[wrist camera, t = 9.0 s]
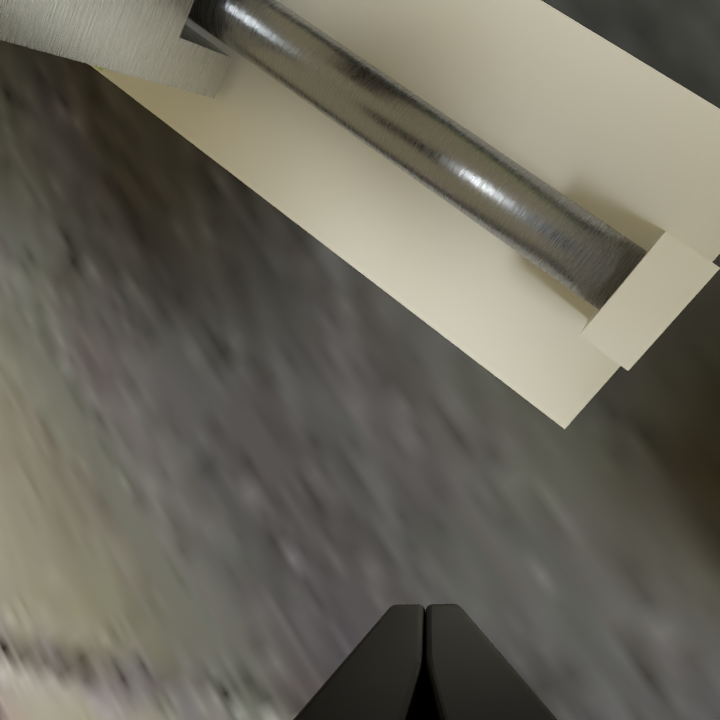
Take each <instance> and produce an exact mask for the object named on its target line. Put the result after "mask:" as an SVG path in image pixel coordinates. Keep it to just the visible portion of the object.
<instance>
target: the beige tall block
mask: <svg viewBox="0 0 720 720" xmlns="http://www.w3.org/2000/svg"><path fill="white" fill-rule="evenodd" d="M193 3H194V0H0V40H3V41H6V42H10V43H14V44H17V45H21V46H25V47H28V48H32V49H35V50H39V51H43V52H46V53H50V54H54V55H57V56H61V57H64V58H68V59H72V60H75V61H79V62H83V63H86V64H90V65H94V66H97V67H101V68H104V69H108V70H112V71H115V72H119V73H123V74H126V75H130V76H133V77H137V78H141V79H144V80H148V81H152V82H155V83H159V84H163V85H166V86H170V87H173V88H177V89H181V90H184V91H188V92H192V93H195V94H199V95H202V96H206V97H210V98H213V99H214V98H215V96H216V94H217V91H218V89H219V87H220V85H221V82H222V80H223V78H224V76H225V73H226V71H227V69H228V67H229V65H230V62H231V60H232V57H230V56H229V55H227V54H226V53H225V52H223V51H222V50H220V49H219V48H218V47H216V46H215V45H213V44H212V43H211V42H209V41H208V40H206V39H205V38H204V37H202V36H201V35H199V34H198V33H197V32H195V31H194V30H192V29H191V28H190V27H188V26H187V25H186V24H185V22H186V20H187V18H188V15H189V13H190V10H191V8H192V5H193Z"/></svg>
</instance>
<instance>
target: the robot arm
mask: <svg viewBox="0 0 720 720" xmlns="http://www.w3.org/2000/svg"><path fill="white" fill-rule="evenodd" d="M293 720H557V719H556V718H555V716H554V715H553V714H552V713H551V712H550V711H549V709H548V708H547V707H546V706H545V705H544V704H543V702H542V701H541V700H540V699H539V698H538V697H537V695H536V694H535V693H534V692H533V691H532V690H531V688H530V687H529V686H528V685H527V684H526V683H525V681H524V680H523V679H522V678H521V677H520V676H519V674H518V673H517V672H516V671H515V670H514V669H513V667H512V666H511V665H510V664H509V663H508V662H507V660H506V659H505V658H504V657H503V656H502V655H501V653H500V652H499V651H498V650H497V649H496V648H495V646H494V645H493V644H492V643H491V642H490V641H489V639H488V638H487V637H486V636H485V635H484V634H483V632H482V631H481V630H480V629H479V628H478V627H477V625H476V624H475V623H474V622H473V621H472V620H471V618H470V617H469V616H468V615H467V614H466V613H465V611H464V610H463V609H462V608H461V607H460V606H459V605H457V604H431V605H429V606H427V608H426V614H425V609H424V607H423V606H421V605H393V606H392V607H390V608H389V609H388V610H387V612H386V613H385V614H384V615H383V616H382V617H381V619H380V620H379V621H378V622H377V623H376V624H375V625H374V627H373V628H372V629H371V630H370V631H369V632H368V634H367V635H366V636H365V637H364V638H363V639H362V641H361V642H360V643H359V644H358V645H357V646H356V648H355V649H354V650H353V651H352V652H351V653H350V654H349V656H348V657H347V658H346V659H345V660H344V661H343V663H342V664H341V665H340V666H339V667H338V668H337V670H336V671H335V672H334V673H333V674H332V675H331V676H330V678H329V679H328V680H327V681H326V682H325V683H324V685H323V686H322V687H321V688H320V689H319V690H318V692H317V693H316V694H315V695H314V696H313V697H312V698H311V700H310V701H309V702H308V703H307V704H306V705H305V707H304V708H303V709H302V710H301V711H300V712H299V714H298V715H297V716H296V717H295V718H294V719H293Z"/></svg>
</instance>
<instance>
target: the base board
mask: <svg viewBox="0 0 720 720" xmlns="http://www.w3.org/2000/svg"><path fill="white" fill-rule="evenodd" d="M277 1H278V2H280V3H281V4H283V5H284V6H286V7H287V8H289V9H290V10H292V11H293V12H295V13H296V14H298V15H299V16H300V17H302V18H303V19H305V20H306V21H308V22H309V23H311V24H312V25H314V26H315V27H317V28H318V29H320V30H321V31H323V32H324V33H326V34H327V35H329V36H330V37H331V38H333V39H334V40H336V41H337V42H339V43H340V44H342V45H343V46H345V47H346V48H348V49H349V50H351V51H352V52H354V53H355V54H357V55H358V56H360V57H361V58H362V59H364V60H365V61H367V62H368V63H370V64H371V65H373V66H374V67H376V68H377V69H379V70H380V71H382V72H383V73H385V74H386V75H388V76H389V77H391V78H392V79H394V80H395V81H396V82H398V83H399V84H401V85H402V86H404V87H405V88H407V89H408V90H410V91H411V92H413V93H414V94H416V95H417V96H419V97H420V98H422V99H423V100H425V101H426V102H427V103H429V104H430V105H432V106H433V107H435V108H436V109H438V110H439V111H441V112H442V113H444V114H445V115H447V116H448V117H450V118H451V119H453V120H454V121H456V122H457V123H458V124H460V125H461V126H463V127H464V128H466V129H467V130H469V131H470V132H472V133H473V134H475V135H476V136H478V137H479V138H481V139H482V140H484V141H485V142H487V143H488V144H489V145H491V146H492V147H494V148H495V149H497V150H498V151H500V152H501V153H503V154H504V155H506V156H507V157H509V158H510V159H512V160H513V161H515V162H516V163H518V164H519V165H520V166H522V167H523V168H525V169H526V170H528V171H529V172H531V173H532V174H534V175H535V176H537V177H538V178H540V179H541V180H543V181H544V182H546V183H547V184H549V185H550V186H551V187H553V188H554V189H556V190H557V191H559V192H560V193H562V194H563V195H565V196H566V197H568V198H569V199H571V200H572V201H574V202H575V203H577V204H578V205H580V206H581V207H582V208H584V209H585V210H587V211H588V212H590V213H591V214H593V215H594V216H596V217H597V218H599V219H600V220H602V221H603V222H605V223H606V224H608V225H609V226H611V227H612V228H613V229H615V230H616V231H618V232H619V233H621V234H622V235H624V236H625V237H627V238H628V239H630V240H631V241H633V242H634V243H636V244H637V245H639V246H640V247H642V248H643V249H645V250H646V251H647V252H646V254H645V255H644V256H643V258H642V259H641V260H640V262H639V263H638V264H637V265H636V267H635V268H634V269H633V271H632V272H631V273H630V274H629V275H628V277H627V278H626V279H625V280H624V282H623V283H622V284H621V285H620V286H619V288H618V289H617V290H616V291H615V292H614V294H613V295H612V296H611V297H610V298H609V299H608V301H607V302H606V303H605V304H604V305H603V306H602V307H601V308H600V309H599V310H598V309H597V308H595V307H594V306H592V305H591V304H590V303H588V302H587V301H585V300H584V299H583V298H581V297H580V296H578V295H577V294H576V293H574V292H573V291H571V290H570V289H569V288H567V287H566V286H564V285H563V284H562V283H560V282H559V281H557V280H556V279H555V278H553V277H552V276H550V275H549V274H547V273H546V272H545V271H543V270H542V269H540V268H539V267H538V266H536V265H535V264H533V263H532V262H531V261H529V260H528V259H526V258H525V257H524V256H522V255H521V254H519V253H518V252H517V251H515V250H514V249H512V248H511V247H510V246H508V245H507V244H505V243H504V242H503V241H501V240H500V239H498V238H497V237H496V236H494V235H493V234H491V233H490V232H488V231H487V230H486V229H484V228H483V227H481V226H480V225H479V224H477V223H476V222H474V221H473V220H472V219H470V218H469V217H467V216H466V215H465V214H463V213H462V212H460V211H459V210H458V209H456V208H455V207H453V206H452V205H451V204H449V203H448V202H446V201H445V200H444V199H442V198H441V197H439V196H438V195H437V194H435V193H434V192H432V191H431V190H429V189H428V188H427V187H425V186H424V185H422V184H421V183H420V182H418V181H417V180H415V179H414V178H413V177H411V176H410V175H408V174H407V173H406V172H404V171H403V170H401V169H400V168H399V167H397V166H396V165H394V164H393V163H392V162H390V161H389V160H387V159H386V158H385V157H383V156H382V155H380V154H379V153H378V152H376V151H375V150H373V149H372V148H370V147H369V146H368V145H366V144H365V143H363V142H362V141H361V140H359V139H358V138H356V137H355V136H354V135H352V134H351V133H349V132H348V131H347V130H345V129H344V128H342V127H341V126H340V125H338V124H337V123H335V122H334V121H333V120H331V119H330V118H328V117H327V116H326V115H324V114H323V113H321V112H320V111H319V110H317V109H316V108H314V107H313V106H312V105H310V104H309V103H307V102H306V101H304V100H303V99H302V98H300V97H299V96H297V95H296V94H295V93H293V92H292V91H290V90H289V89H288V88H286V87H285V86H283V85H282V84H281V83H279V82H278V81H276V80H275V79H274V78H272V77H271V76H269V75H268V74H267V73H265V72H264V71H262V70H261V69H260V68H258V67H257V66H255V65H254V64H253V63H251V62H250V61H248V60H247V59H245V58H244V57H243V56H241V55H240V54H238V53H237V52H236V51H234V50H233V49H231V48H230V47H229V46H227V45H226V44H224V43H223V42H222V41H220V40H219V39H217V38H216V37H215V36H213V35H212V34H210V33H209V32H208V31H206V30H205V29H203V28H202V27H201V26H199V25H198V24H196V23H195V22H194V21H192V20H191V19H189V18H187V20H186V22H185V24H186V25H187V26H188V27H190V28H191V29H192V30H194V31H195V32H197V33H198V34H199V35H201V36H202V37H204V38H205V39H206V40H208V41H209V42H211V43H212V44H213V45H215V46H216V47H218V48H219V49H220V50H222V51H223V52H225V53H226V54H227V55H229V56H230V57H232V60H231V62H230V65H229V67H228V69H227V71H226V73H225V76H224V78H223V80H222V82H221V85H220V87H219V89H218V91H217V94H216V96H215V98H214V99H213V98H210V97H206V96H202V95H199V94H195V93H192V92H188V91H184V90H181V89H177V88H173V87H170V86H166V85H163V84H159V83H155V82H152V81H148V80H144V79H141V78H137V77H133V76H130V75H126V74H123V73H119V72H115V71H112V70H108V69H104V68H101V67H97V66H94V65H91V66H92V67H93V68H94V69H96V70H97V71H98V72H100V73H101V74H102V75H104V76H105V77H106V78H107V79H109V80H110V81H111V82H113V83H114V84H115V85H117V86H118V87H119V88H121V89H122V90H123V91H124V92H126V93H127V94H128V95H130V96H131V97H132V98H134V99H135V100H136V101H137V102H139V103H140V104H141V105H143V106H144V107H145V108H147V109H148V110H149V111H151V112H152V113H153V114H154V115H156V116H157V117H158V118H160V119H161V120H162V121H164V122H165V123H166V124H167V125H169V126H170V127H171V128H173V129H174V130H175V131H177V132H178V133H179V134H181V135H182V136H183V137H184V138H186V139H187V140H188V141H190V142H191V143H192V144H194V145H195V146H196V147H197V148H199V149H200V150H201V151H203V152H204V153H205V154H207V155H208V156H209V157H211V158H212V159H213V160H214V161H216V162H217V163H218V164H220V165H221V166H222V167H224V168H225V169H226V170H227V171H229V172H230V173H231V174H233V175H234V176H235V177H237V178H238V179H239V180H241V181H242V182H243V183H244V184H246V185H247V186H248V187H250V188H251V189H252V190H254V191H255V192H256V193H257V194H259V195H260V196H261V197H263V198H264V199H265V200H267V201H268V202H269V203H270V204H272V205H273V206H274V207H276V208H277V209H278V210H280V211H281V212H282V213H284V214H285V215H286V216H287V217H289V218H290V219H291V220H293V221H294V222H295V223H297V224H298V225H299V226H300V227H302V228H303V229H304V230H306V231H307V232H308V233H310V234H311V235H312V236H314V237H315V238H316V239H317V240H319V241H320V242H321V243H323V244H324V245H325V246H327V247H328V248H329V249H330V250H332V251H333V252H334V253H336V254H337V255H338V256H340V257H341V258H342V259H344V260H345V261H346V262H347V263H349V264H350V265H351V266H353V267H354V268H355V269H357V270H358V271H359V272H360V273H362V274H363V275H364V276H366V277H367V278H368V279H370V280H371V281H372V282H374V283H375V284H376V285H377V286H379V287H380V288H381V289H383V290H384V291H385V292H387V293H388V294H389V295H390V296H392V297H393V298H394V299H396V300H397V301H398V302H400V303H401V304H402V305H404V306H405V307H406V308H407V309H409V310H410V311H411V312H413V313H414V314H415V315H417V316H418V317H419V318H420V319H422V320H423V321H424V322H426V323H427V324H428V325H430V326H431V327H432V328H433V329H435V330H436V331H437V332H439V333H440V334H441V335H443V336H444V337H445V338H447V339H448V340H449V341H450V342H452V343H453V344H454V345H456V346H457V347H458V348H460V349H461V350H462V351H463V352H465V353H466V354H467V355H469V356H470V357H471V358H473V359H474V360H475V361H477V362H478V363H479V364H480V365H482V366H483V367H484V368H486V369H487V370H488V371H490V372H491V373H492V374H493V375H495V376H496V377H497V378H499V379H500V380H501V381H503V382H504V383H505V384H507V385H508V386H509V387H510V388H512V389H513V390H514V391H516V392H517V393H518V394H520V395H521V396H522V397H523V398H525V399H526V400H527V401H529V402H530V403H531V404H533V405H534V406H535V407H537V408H538V409H539V410H540V411H542V412H543V413H544V414H546V415H547V416H548V417H550V418H551V419H552V420H553V421H555V422H556V423H557V424H559V425H560V426H561V427H563V428H564V429H565V428H566V427H567V426H568V425H569V424H570V423H571V421H572V420H573V419H574V418H575V417H576V416H577V415H578V414H579V412H580V411H581V410H582V409H583V408H584V407H585V406H586V404H587V403H588V402H589V401H590V400H591V399H592V398H593V397H594V395H595V394H596V393H597V392H598V391H599V390H600V389H601V387H602V386H603V385H604V384H605V383H606V382H607V381H608V380H609V378H610V377H611V376H612V375H613V374H614V373H615V372H616V371H617V369H618V368H619V367H620V366H622V367H623V368H625V369H626V370H627V371H629V370H630V368H631V367H632V366H633V365H634V364H635V363H636V362H637V361H638V360H639V358H640V357H641V356H642V355H643V354H644V353H645V352H646V351H647V349H648V348H649V347H650V346H651V345H652V344H653V343H654V342H655V340H656V339H657V338H658V337H659V336H660V335H661V334H662V333H663V332H664V330H665V329H666V328H667V327H668V326H669V325H670V324H671V323H672V321H673V320H674V319H675V318H676V317H677V316H678V315H679V314H680V313H681V311H682V310H683V309H684V308H685V307H686V306H687V305H688V304H689V302H690V301H691V300H692V299H693V298H694V297H695V296H696V295H697V293H698V292H699V291H700V290H701V289H702V288H703V287H704V286H705V285H706V283H707V282H708V281H709V280H710V279H711V278H712V277H713V276H714V274H715V273H716V272H717V271H718V270H719V269H720V267H718V266H717V265H715V264H714V263H712V262H713V261H714V260H715V258H716V257H717V256H718V255H719V254H720V109H719V108H717V107H716V106H714V105H712V104H711V103H709V102H707V101H706V100H704V99H703V98H701V97H699V96H698V95H696V94H694V93H693V92H691V91H689V90H688V89H686V88H684V87H683V86H681V85H680V84H678V83H676V82H675V81H673V80H671V79H670V78H668V77H666V76H665V75H663V74H661V73H660V72H658V71H656V70H655V69H653V68H652V67H650V66H648V65H647V64H645V63H643V62H642V61H640V60H638V59H637V58H635V57H633V56H632V55H630V54H629V53H627V52H625V51H624V50H622V49H620V48H619V47H617V46H615V45H614V44H612V43H610V42H609V41H607V40H605V39H604V38H602V37H601V36H599V35H597V34H596V33H594V32H592V31H591V30H589V29H587V28H586V27H584V26H582V25H581V24H579V23H578V22H576V21H574V20H573V19H571V18H569V17H568V16H566V15H564V14H563V13H561V12H559V11H558V10H556V9H555V8H553V7H551V6H550V5H548V4H546V3H545V2H543V1H541V0H277ZM89 65H90V64H89Z"/></svg>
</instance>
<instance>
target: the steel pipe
mask: <svg viewBox="0 0 720 720" xmlns="http://www.w3.org/2000/svg"><path fill="white" fill-rule="evenodd" d="M188 18H189V19H191V20H192V21H194V22H195V23H196V24H198V25H199V26H201V27H202V28H203V29H205V30H206V31H208V32H209V33H210V34H212V35H213V36H215V37H216V38H217V39H219V40H220V41H222V42H223V43H224V44H226V45H227V46H229V47H230V48H231V49H233V50H234V51H236V52H237V53H238V54H240V55H241V56H243V57H244V58H245V59H247V60H248V61H250V62H251V63H253V64H254V65H255V66H257V67H258V68H260V69H261V70H262V71H264V72H265V73H267V74H268V75H269V76H271V77H272V78H274V79H275V80H276V81H278V82H279V83H281V84H282V85H283V86H285V87H286V88H288V89H289V90H290V91H292V92H293V93H295V94H296V95H297V96H299V97H300V98H302V99H303V100H304V101H306V102H307V103H309V104H310V105H312V106H313V107H314V108H316V109H317V110H319V111H320V112H321V113H323V114H324V115H326V116H327V117H328V118H330V119H331V120H333V121H334V122H335V123H337V124H338V125H340V126H341V127H342V128H344V129H345V130H347V131H348V132H349V133H351V134H352V135H354V136H355V137H356V138H358V139H359V140H361V141H362V142H363V143H365V144H366V145H368V146H369V147H370V148H372V149H373V150H375V151H376V152H378V153H379V154H380V155H382V156H383V157H385V158H386V159H387V160H389V161H390V162H392V163H393V164H394V165H396V166H397V167H399V168H400V169H401V170H403V171H404V172H406V173H407V174H408V175H410V176H411V177H413V178H414V179H415V180H417V181H418V182H420V183H421V184H422V185H424V186H425V187H427V188H428V189H429V190H431V191H432V192H434V193H435V194H437V195H438V196H439V197H441V198H442V199H444V200H445V201H446V202H448V203H449V204H451V205H452V206H453V207H455V208H456V209H458V210H459V211H460V212H462V213H463V214H465V215H466V216H467V217H469V218H470V219H472V220H473V221H474V222H476V223H477V224H479V225H480V226H481V227H483V228H484V229H486V230H487V231H488V232H490V233H491V234H493V235H494V236H496V237H497V238H498V239H500V240H501V241H503V242H504V243H505V244H507V245H508V246H510V247H511V248H512V249H514V250H515V251H517V252H518V253H519V254H521V255H522V256H524V257H525V258H526V259H528V260H529V261H531V262H532V263H533V264H535V265H536V266H538V267H539V268H540V269H542V270H543V271H545V272H546V273H547V274H549V275H550V276H552V277H553V278H555V279H556V280H557V281H559V282H560V283H562V284H563V285H564V286H566V287H567V288H569V289H570V290H571V291H573V292H574V293H576V294H577V295H578V296H580V297H581V298H583V299H584V300H585V301H587V302H588V303H590V304H591V305H592V306H594V307H595V308H597V309H598V310H599V309H600V308H601V307H602V306H603V305H604V304H605V303H606V302H607V301H608V299H609V298H610V297H611V296H612V295H613V294H614V292H615V291H616V290H617V289H618V288H619V286H620V285H621V284H622V283H623V282H624V280H625V279H626V278H627V277H628V275H629V274H630V273H631V272H632V271H633V269H634V268H635V267H636V265H637V264H638V263H639V262H640V260H641V259H642V258H643V256H644V255H645V254H646V252H647V251H646V250H645V249H643V248H642V247H640V246H639V245H637V244H636V243H634V242H633V241H631V240H630V239H628V238H627V237H625V236H624V235H622V234H621V233H619V232H618V231H616V230H615V229H613V228H612V227H611V226H609V225H608V224H606V223H605V222H603V221H602V220H600V219H599V218H597V217H596V216H594V215H593V214H591V213H590V212H588V211H587V210H585V209H584V208H582V207H581V206H580V205H578V204H577V203H575V202H574V201H572V200H571V199H569V198H568V197H566V196H565V195H563V194H562V193H560V192H559V191H557V190H556V189H554V188H553V187H551V186H550V185H549V184H547V183H546V182H544V181H543V180H541V179H540V178H538V177H537V176H535V175H534V174H532V173H531V172H529V171H528V170H526V169H525V168H523V167H522V166H520V165H519V164H518V163H516V162H515V161H513V160H512V159H510V158H509V157H507V156H506V155H504V154H503V153H501V152H500V151H498V150H497V149H495V148H494V147H492V146H491V145H489V144H488V143H487V142H485V141H484V140H482V139H481V138H479V137H478V136H476V135H475V134H473V133H472V132H470V131H469V130H467V129H466V128H464V127H463V126H461V125H460V124H458V123H457V122H456V121H454V120H453V119H451V118H450V117H448V116H447V115H445V114H444V113H442V112H441V111H439V110H438V109H436V108H435V107H433V106H432V105H430V104H429V103H427V102H426V101H425V100H423V99H422V98H420V97H419V96H417V95H416V94H414V93H413V92H411V91H410V90H408V89H407V88H405V87H404V86H402V85H401V84H399V83H398V82H396V81H395V80H394V79H392V78H391V77H389V76H388V75H386V74H385V73H383V72H382V71H380V70H379V69H377V68H376V67H374V66H373V65H371V64H370V63H368V62H367V61H365V60H364V59H362V58H361V57H360V56H358V55H357V54H355V53H354V52H352V51H351V50H349V49H348V48H346V47H345V46H343V45H342V44H340V43H339V42H337V41H336V40H334V39H333V38H331V37H330V36H329V35H327V34H326V33H324V32H323V31H321V30H320V29H318V28H317V27H315V26H314V25H312V24H311V23H309V22H308V21H306V20H305V19H303V18H302V17H300V16H299V15H298V14H296V13H295V12H293V11H292V10H290V9H289V8H287V7H286V6H284V5H283V4H281V3H280V2H278V1H277V0H194V3H193V5H192V8H191V10H190V13H189V15H188Z"/></svg>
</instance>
